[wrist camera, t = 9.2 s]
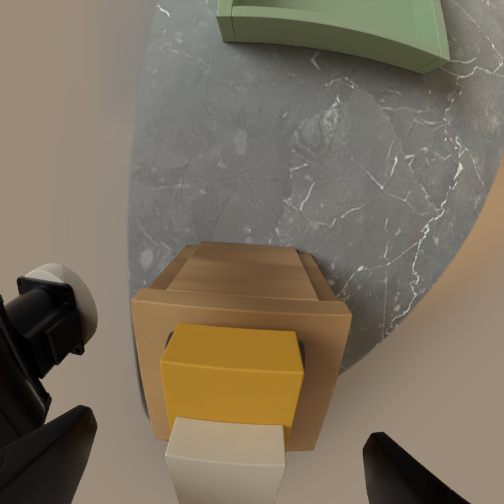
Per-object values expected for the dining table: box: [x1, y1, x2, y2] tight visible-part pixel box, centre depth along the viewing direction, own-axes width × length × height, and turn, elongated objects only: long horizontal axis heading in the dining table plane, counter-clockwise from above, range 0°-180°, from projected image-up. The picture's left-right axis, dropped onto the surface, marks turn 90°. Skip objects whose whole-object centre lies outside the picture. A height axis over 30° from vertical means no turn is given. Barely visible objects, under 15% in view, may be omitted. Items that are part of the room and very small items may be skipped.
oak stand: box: [131, 241, 353, 451], centre depth 15 cm, size 8×8×9 cm
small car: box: [160, 323, 305, 504], centre depth 9 cm, size 7×4×4 cm, turn 176°
